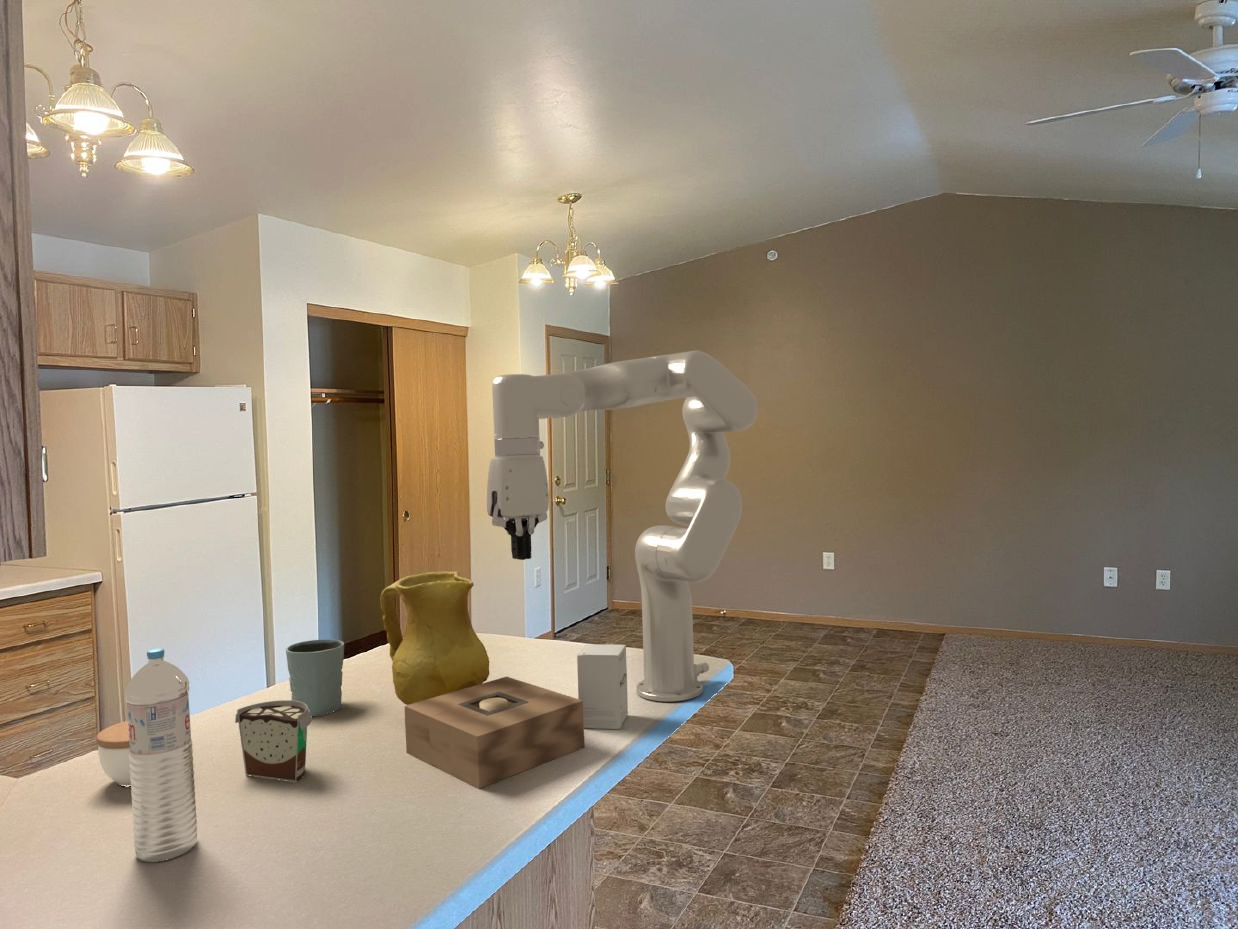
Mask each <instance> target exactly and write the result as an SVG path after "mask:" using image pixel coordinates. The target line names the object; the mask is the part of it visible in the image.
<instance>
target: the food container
mask: <svg viewBox="0 0 1238 929" xmlns="http://www.w3.org/2000/svg"><path fill="white" fill-rule="evenodd" d="M312 722H313V717H311V713H310V710H309V708H308V707H307V705H306V704H305V703H303V702H299V701H292V700H289V699H286V700H284V699H283V700H282V699H281V700H272V701H271V700H270V701H265V702H264V701H263V702H258V703H253V704H250V705H247V706H243V707H241V708H238V709H237V710H236V714H235V719H234V723H235V724H238V728H239V737H240V743H241V750H242V751H241V752H242V758H243V765H244V774H245V776H246V775H251V776H256V777H255V778H259V777H263V778H262V779H266V778H268V779H267V780H274V779H280V780H279V781H282V780H287V781H286V782H289V781H291V783H298V782H299V781H301V780H302V779H303V778H304V777H305V775H306V761H307V758H306V757H307V740H308V739H307V736H308V726H310V725H311V724H312ZM251 776H250V777H251ZM302 777H303V778H302ZM300 779H301V780H300ZM297 781H298V782H297Z"/></svg>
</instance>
